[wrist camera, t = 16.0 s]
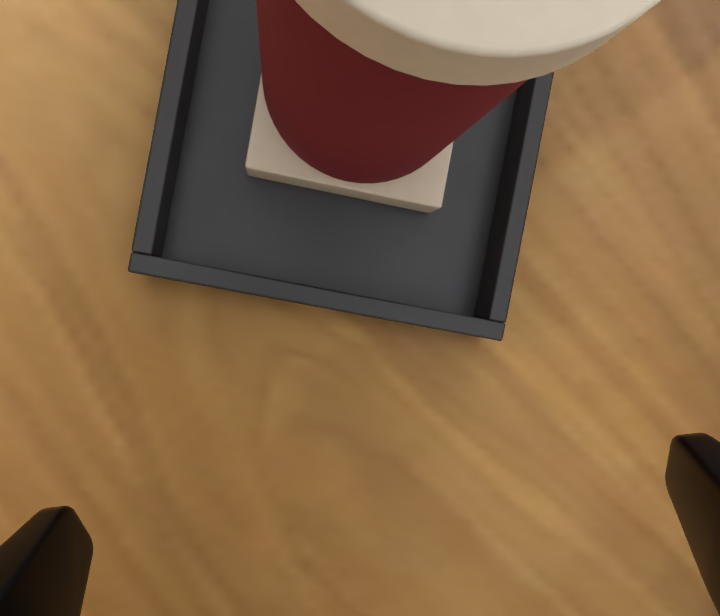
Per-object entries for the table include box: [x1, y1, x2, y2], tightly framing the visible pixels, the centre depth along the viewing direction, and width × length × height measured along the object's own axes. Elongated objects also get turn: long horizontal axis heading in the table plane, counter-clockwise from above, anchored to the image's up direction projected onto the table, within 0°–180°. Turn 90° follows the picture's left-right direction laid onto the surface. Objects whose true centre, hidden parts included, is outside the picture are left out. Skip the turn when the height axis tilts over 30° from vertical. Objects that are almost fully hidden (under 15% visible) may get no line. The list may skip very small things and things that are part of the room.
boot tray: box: [128, 0, 554, 341], centre depth 19 cm, size 16×12×2 cm
